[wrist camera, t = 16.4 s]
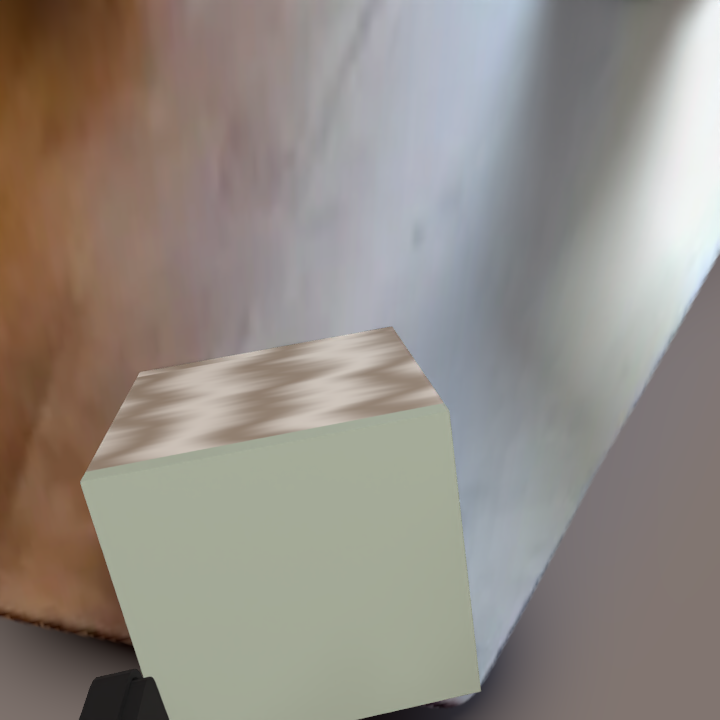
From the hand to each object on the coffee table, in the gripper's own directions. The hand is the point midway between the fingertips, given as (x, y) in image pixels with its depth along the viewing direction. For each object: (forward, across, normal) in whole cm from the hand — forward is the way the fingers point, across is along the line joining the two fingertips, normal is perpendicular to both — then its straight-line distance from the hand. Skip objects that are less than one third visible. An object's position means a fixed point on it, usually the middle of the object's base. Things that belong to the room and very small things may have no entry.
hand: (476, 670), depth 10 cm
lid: (+21, +5, +14) cm, 26 cm away
